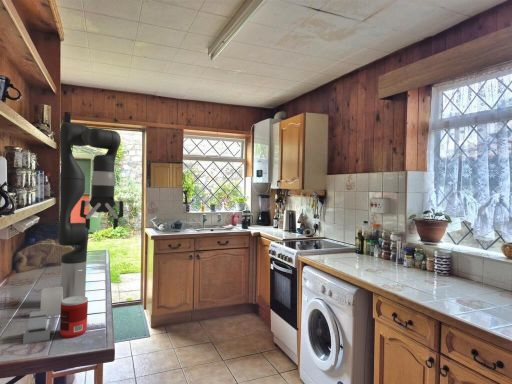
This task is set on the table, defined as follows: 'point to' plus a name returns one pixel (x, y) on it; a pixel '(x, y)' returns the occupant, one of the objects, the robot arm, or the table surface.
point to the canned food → (73, 316)
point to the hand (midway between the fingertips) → (101, 229)
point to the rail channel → (36, 336)
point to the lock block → (37, 321)
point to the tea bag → (51, 300)
